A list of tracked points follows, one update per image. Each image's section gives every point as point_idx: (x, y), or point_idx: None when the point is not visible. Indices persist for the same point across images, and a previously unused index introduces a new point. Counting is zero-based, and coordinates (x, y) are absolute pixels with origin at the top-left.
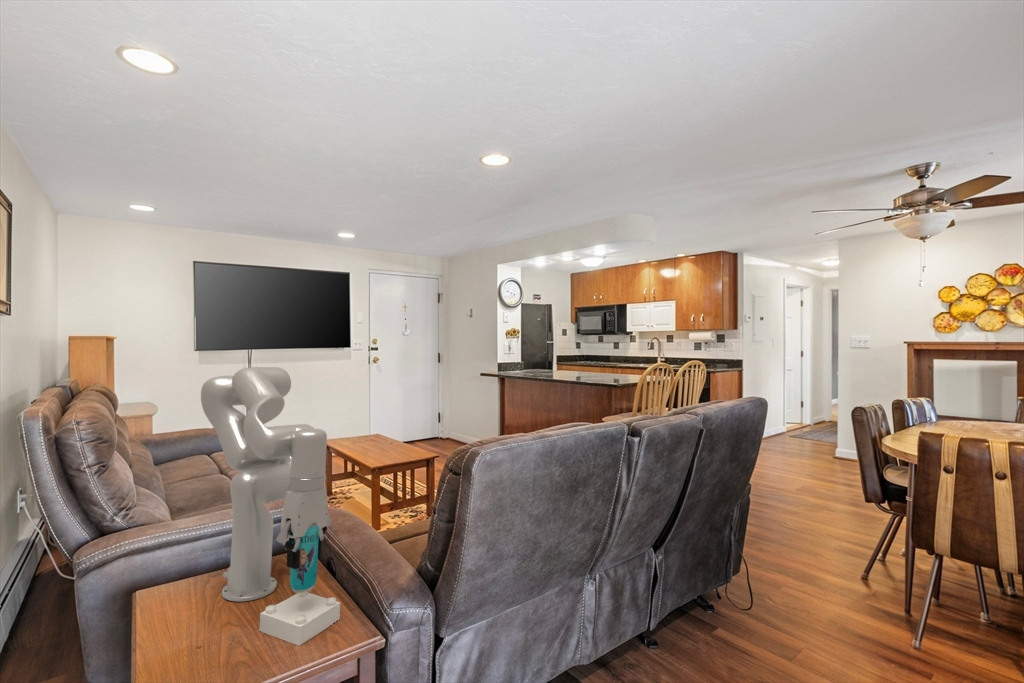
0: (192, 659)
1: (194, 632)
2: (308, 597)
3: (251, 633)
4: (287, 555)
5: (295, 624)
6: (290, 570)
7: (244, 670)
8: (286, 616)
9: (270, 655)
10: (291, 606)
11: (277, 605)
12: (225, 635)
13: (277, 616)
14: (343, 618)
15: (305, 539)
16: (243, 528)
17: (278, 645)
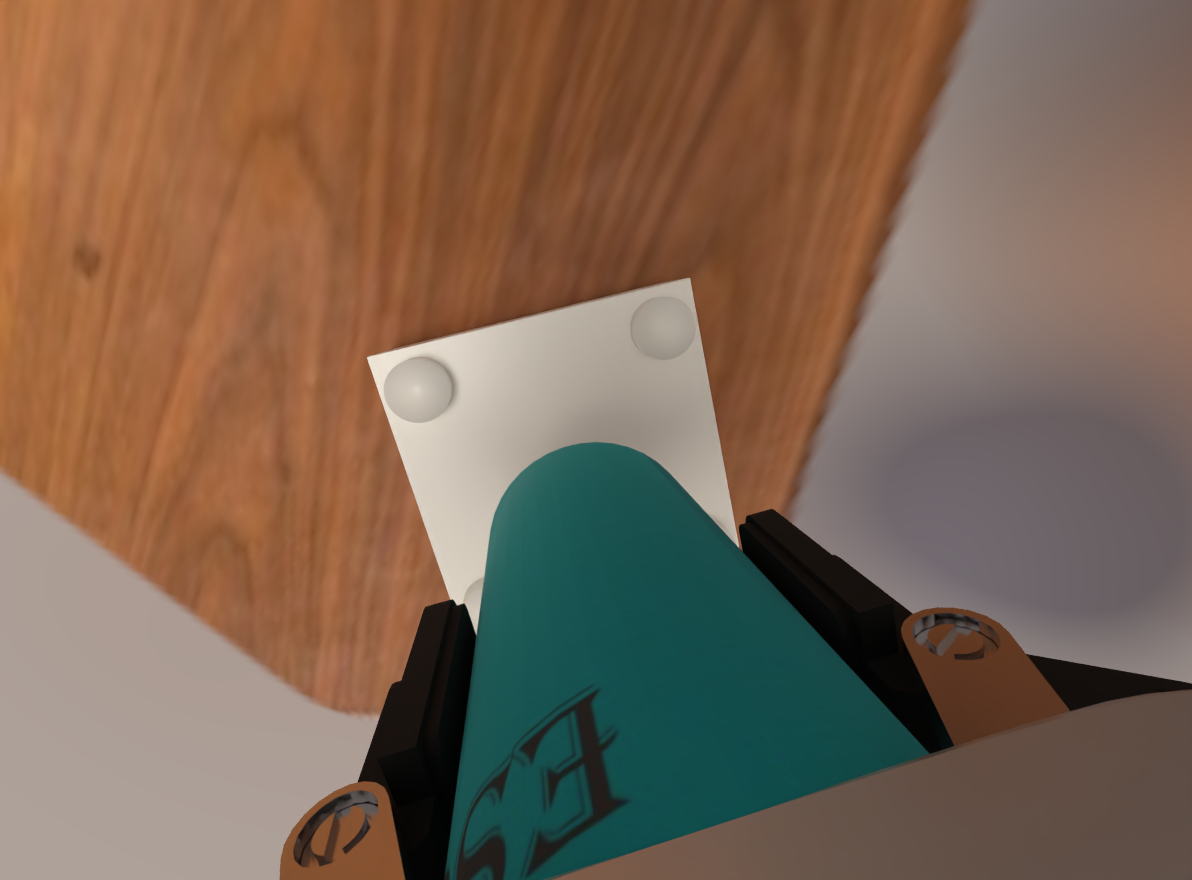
0: (34, 355)
1: (96, 71)
2: (664, 389)
3: (354, 337)
4: (370, 761)
5: None
6: (487, 563)
7: (219, 603)
8: (464, 500)
9: (349, 576)
10: (540, 416)
11: (486, 343)
12: (238, 252)
13: (426, 467)
14: None
15: None
16: None
17: (408, 529)
